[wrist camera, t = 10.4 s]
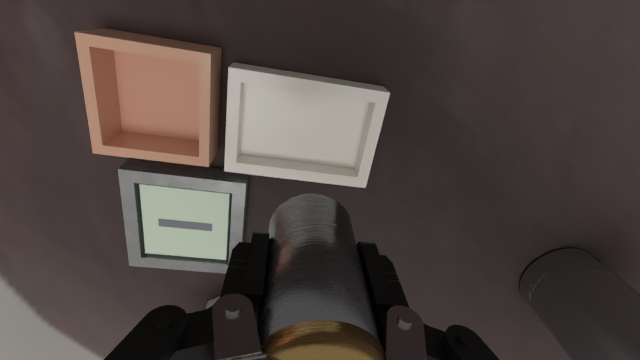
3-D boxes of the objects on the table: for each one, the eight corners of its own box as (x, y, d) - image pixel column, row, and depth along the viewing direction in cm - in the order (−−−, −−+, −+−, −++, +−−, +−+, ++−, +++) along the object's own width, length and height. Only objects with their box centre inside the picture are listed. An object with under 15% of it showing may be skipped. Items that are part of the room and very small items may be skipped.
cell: (360, 197, 16) (433, 426, 7) (343, 264, 18) (385, 507, 9) (272, 187, 15) (241, 422, 7) (264, 257, 17) (233, 508, 9)
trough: (383, 86, 30) (390, 92, 27) (360, 176, 34) (365, 188, 32) (233, 62, 28) (228, 67, 26) (229, 159, 32) (224, 171, 30)
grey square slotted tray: (249, 171, 33) (246, 183, 31) (242, 258, 38) (239, 274, 35) (130, 157, 31) (117, 169, 29) (139, 249, 36) (129, 265, 34)
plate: (232, 186, 33) (229, 194, 31) (228, 250, 36) (226, 260, 35) (145, 176, 32) (138, 184, 30) (150, 243, 35) (145, 253, 34)
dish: (221, 47, 27) (210, 53, 24) (218, 148, 31) (208, 167, 28) (104, 28, 26) (74, 31, 23) (116, 135, 30) (92, 153, 27)
